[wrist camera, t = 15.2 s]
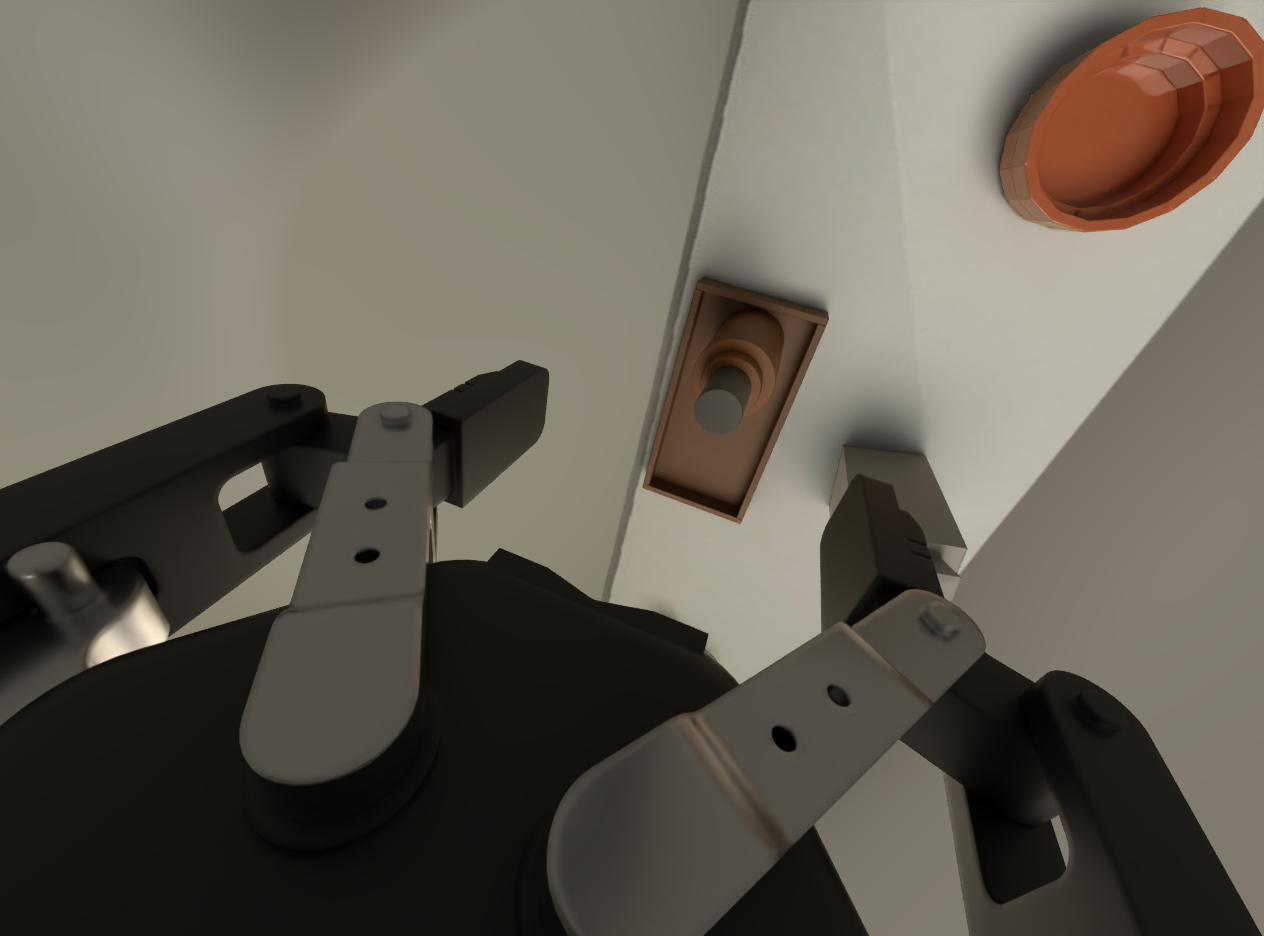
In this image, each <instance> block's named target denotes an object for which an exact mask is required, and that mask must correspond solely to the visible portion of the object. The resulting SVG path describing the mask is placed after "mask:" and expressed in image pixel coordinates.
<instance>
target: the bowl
mask: <svg viewBox="0 0 1264 936" xmlns="http://www.w3.org/2000/svg"><path fill="white" fill-rule="evenodd" d="M1263 109H1264V41H1263V40H1262V39H1261V37H1260V36H1259V35H1258V34H1257V32H1256V31H1255V30H1254V29H1253V27H1252V26H1251V25H1250V24H1249V22H1248V21H1247V20H1246V19H1244V18H1243V17H1239V16H1235V15H1231V14H1227V13H1223V12H1219V11H1215V10H1212V9H1208V8H1196V9H1190V10H1185V11H1180V12H1175V13H1170V14H1164V15H1159V16H1154V17H1151V18H1148V19H1146V20H1145V21H1143V22H1141V23H1139V24H1137V25H1135V26H1133V27H1132V28H1130V29H1128V30H1126V31H1124V32H1122V33H1121V34H1119V35H1117V36H1115V37H1113V38H1111V39H1109V40H1108V41H1106V42H1104V43H1102V44H1100V45H1098V46H1097V47H1095V48H1093V49H1091V50H1090V51H1088V52H1086V53H1084V54H1082V55H1081V56H1079V57H1077V58H1075V59H1074V60H1072V61H1070V62H1068V63H1066V64H1065V65H1063V66H1062V67H1061V68H1060V69H1059V70H1058V71H1057V72H1056V73H1055V74H1054V75H1053V76H1052V77H1050V78H1049V79H1048V80H1047V81H1046V82H1045V83H1044V84H1043V85H1042V86H1041V87H1040V88H1039V89H1038V90H1037V91H1036V92H1035V93H1034V94H1033V95H1032V96H1031V97H1030V98H1029V99H1028V101H1027V102H1026V104H1025V106H1024V107H1023V109H1022V111H1021V112H1020V114H1019V116H1018V117H1017V119H1016V120H1015V122H1014V124H1013V125H1012V127H1011V129H1010V130H1009V132H1008V135H1007V137H1006V141H1005V146H1004V150H1003V155H1002V159H1001V163H1000V168H999V169H1000V176H1001V181H1002V186H1003V191H1004V195H1005V199H1006V201H1007V202H1008V203H1009V204H1010V205H1011V206H1012V207H1013V208H1014V209H1015V211H1016V212H1017V213H1018V214H1019V215H1020V216H1021V217H1022V218H1023V219H1024V220H1026V221H1029V222H1032V223H1035V224H1038V225H1041V226H1044V227H1047V228H1050V229H1056V230H1067V231H1077V232H1095V231H1108V230H1121V229H1126V228H1129V227H1132V226H1135V225H1137V224H1140V223H1142V222H1145V221H1147V220H1150V219H1153V218H1155V217H1158V216H1160V215H1163V214H1165V213H1168V212H1170V211H1172V210H1174V209H1175V208H1176V207H1178V206H1179V205H1181V204H1182V203H1183V202H1185V201H1186V200H1188V199H1189V198H1190V197H1192V196H1193V195H1195V194H1196V193H1197V192H1199V191H1200V190H1202V189H1203V188H1204V187H1206V186H1207V185H1209V184H1210V183H1211V182H1213V181H1214V180H1215V179H1216V178H1217V177H1218V176H1219V175H1220V174H1221V173H1222V171H1223V170H1224V169H1225V168H1226V167H1227V166H1228V164H1229V163H1230V162H1231V161H1232V160H1233V159H1234V157H1235V156H1236V155H1237V154H1238V153H1239V151H1240V150H1241V149H1242V148H1243V147H1244V146H1245V144H1246V143H1247V142H1248V141H1249V140H1250V137H1252V135H1253V133H1254V130H1255V128H1256V126H1257V123H1258V121H1259V118H1260V116H1261V114H1262V111H1263Z"/></svg>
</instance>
